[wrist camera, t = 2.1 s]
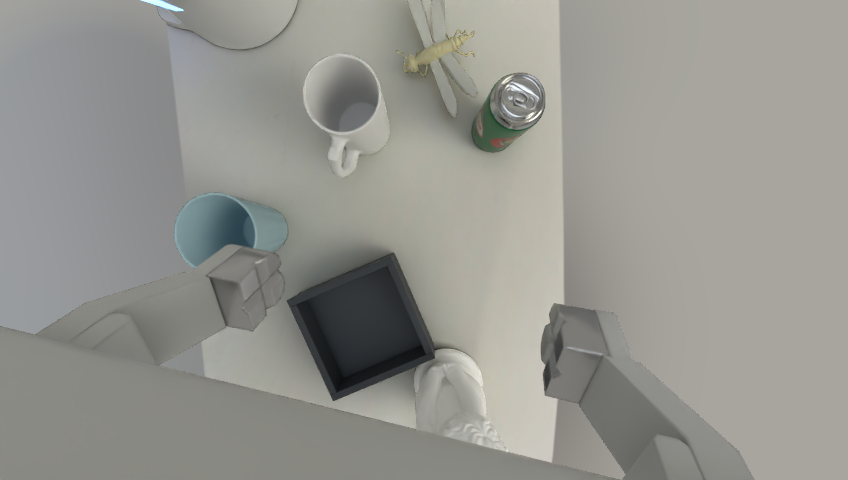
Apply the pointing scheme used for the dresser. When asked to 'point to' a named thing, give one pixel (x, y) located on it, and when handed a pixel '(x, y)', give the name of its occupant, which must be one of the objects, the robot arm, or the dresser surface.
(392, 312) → the bin
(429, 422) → the cherub figurine
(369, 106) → the mug
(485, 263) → the dresser surface
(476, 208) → the dresser surface
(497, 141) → the soda can
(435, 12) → the toy
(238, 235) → the cup
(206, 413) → the robot arm
